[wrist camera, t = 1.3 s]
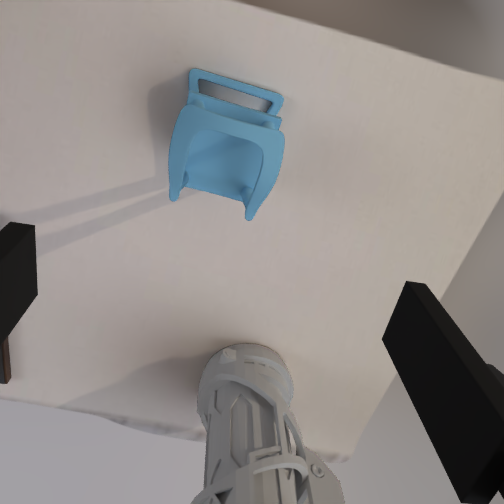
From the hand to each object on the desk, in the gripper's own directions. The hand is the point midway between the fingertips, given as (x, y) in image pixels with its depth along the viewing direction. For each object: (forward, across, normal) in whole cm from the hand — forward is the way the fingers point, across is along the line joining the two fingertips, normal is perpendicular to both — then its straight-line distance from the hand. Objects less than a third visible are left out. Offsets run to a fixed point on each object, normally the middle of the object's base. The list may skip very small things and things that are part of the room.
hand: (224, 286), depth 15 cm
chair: (+24, 0, 0) cm, 24 cm away
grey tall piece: (+24, +8, -27) cm, 37 cm away
